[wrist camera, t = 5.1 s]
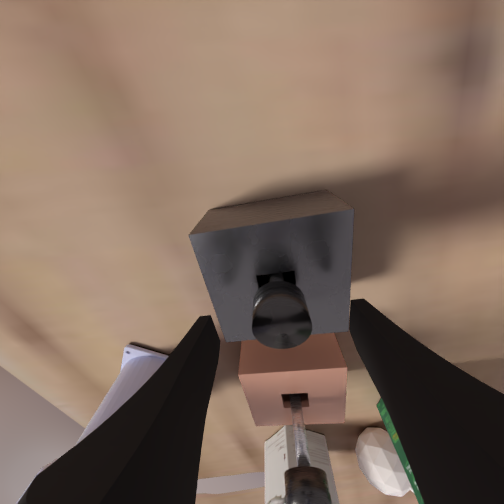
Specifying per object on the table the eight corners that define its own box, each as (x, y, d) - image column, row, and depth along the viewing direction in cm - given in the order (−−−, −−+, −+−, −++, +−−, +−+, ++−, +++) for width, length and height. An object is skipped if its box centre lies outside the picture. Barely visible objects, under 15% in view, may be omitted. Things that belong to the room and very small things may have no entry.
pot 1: (328, 287, 19) (348, 331, 15) (233, 298, 20) (226, 342, 16) (326, 189, 15) (354, 208, 10) (208, 209, 16) (188, 235, 12)
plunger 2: (310, 399, 20) (335, 526, 13) (280, 400, 21) (289, 525, 14) (309, 381, 19) (335, 512, 12) (276, 383, 19) (284, 511, 12)
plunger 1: (293, 268, 17) (313, 346, 11) (259, 273, 18) (257, 351, 11) (290, 236, 16) (311, 302, 9) (252, 242, 16) (246, 309, 10)
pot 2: (329, 373, 25) (344, 422, 20) (257, 378, 26) (256, 426, 22) (329, 320, 21) (347, 367, 16) (242, 328, 22) (238, 374, 18)
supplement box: (284, 422, 31) (297, 579, 20) (326, 434, 32) (360, 588, 21) (262, 440, 34) (263, 584, 23) (301, 451, 35) (318, 593, 24)
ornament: (357, 416, 29) (420, 473, 23) (375, 413, 33) (433, 461, 27) (339, 460, 29) (398, 530, 23) (359, 452, 33) (415, 509, 27)
